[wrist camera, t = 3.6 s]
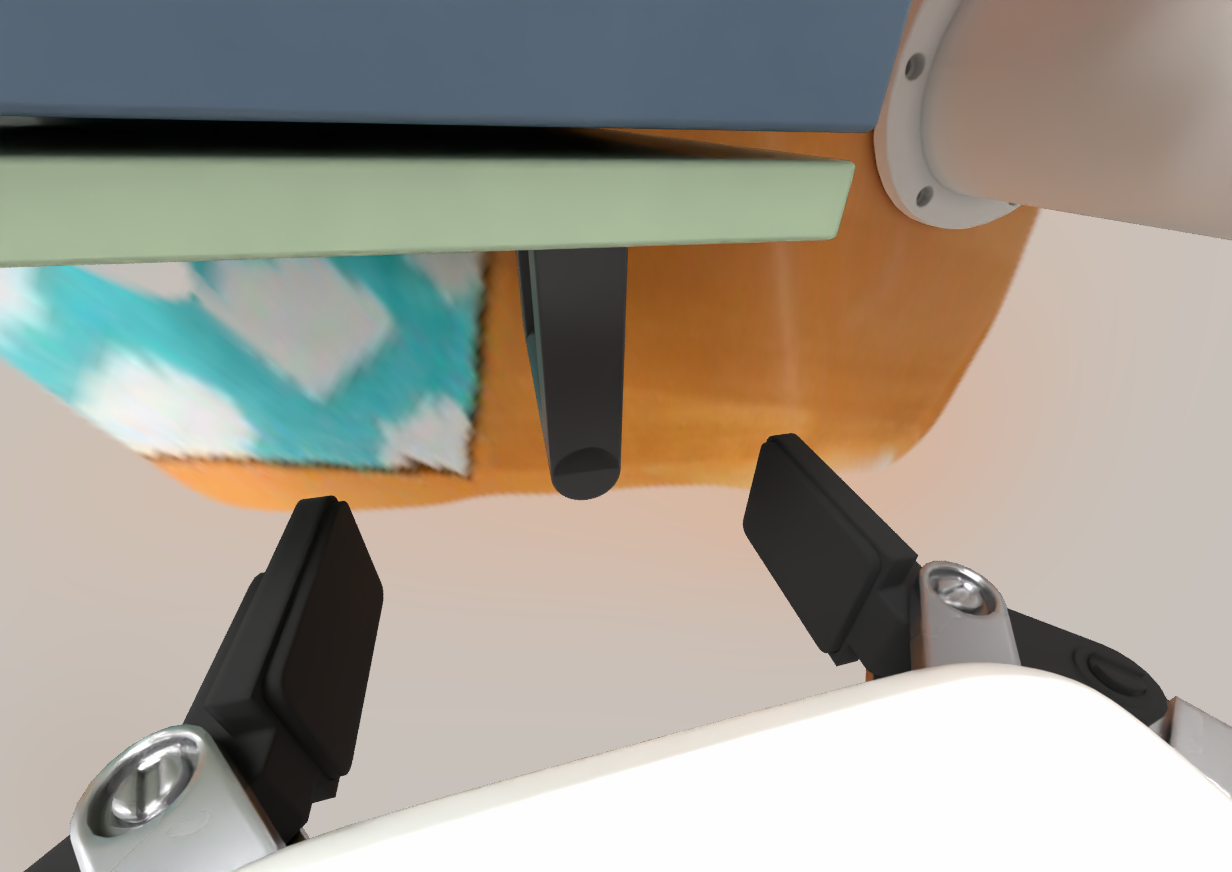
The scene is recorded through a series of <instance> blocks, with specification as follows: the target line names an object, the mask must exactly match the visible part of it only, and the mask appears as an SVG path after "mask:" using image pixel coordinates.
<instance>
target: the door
mask: <svg viewBox="0 0 1232 872" xmlns="http://www.w3.org/2000/svg"><path fill="white" fill-rule="evenodd" d="M854 171H855V164H854V163H852V162H851V161H849V160H841V159H833V158H826V157H818V156H810V155H803V154H795V153H787V152H779V151H772V150H764V149H756V148H748V147H741V146H733V145H725V144H717V143H710V142H702V141H694V140H687V139H679V138H671V137H663V136H656V135H648V134H640V133H632V132H625V131H617V130H609V129H601V128H584V127H533V126H482V125H431V124H380V123H330V122H279V121H228V120H177V119H126V118H76V117H25V116H0V268H5V267H35V266H65V265H95V264H124V263H153V262H154V263H155V262H185V261H215V260H245V259H275V258H305V257H335V256H365V255H396V254H426V253H456V252H486V251H516V256H517V266H518V277H519V287H520V297H521V307H522V317H523V327H524V334H525V339H526V344H527V350H528V355H529V361H530V366H531V372H532V377H533V383H534V388H535V393H536V399H537V404H538V410H539V415H540V421H541V426H542V431H543V437H544V442H545V448H546V453H547V459H548V464H549V470H550V475H551V480H552V484H553V486H554V487H555V489H556V490H557V491H558V492H559V493H560V494H562V495H563V496H565V497H567V498H570V499H574V500H588V499H592V498H596V497H598V496H601V495H603V494H604V493H606V492H607V491H609V490H610V489H611V488H612V487H613V486H614V485H615V483H616V482H617V480H618V478H619V475H620V470H621V440H622V410H623V380H624V351H625V321H626V291H627V261H628V247H636V246H666V245H696V244H726V243H756V242H786V241H816V240H830V239H833V238H835V237H836V235H837V233H838V230H839V226H840V222H841V219H842V215H843V211H844V208H845V204H846V201H847V197H848V193H849V190H850V186H851V182H852V179H853V175H854Z"/></svg>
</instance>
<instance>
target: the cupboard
mask: <svg viewBox="0 0 1232 872" xmlns="http://www.w3.org/2000/svg"><path fill="white" fill-rule="evenodd" d="M911 4H912V0H0V116H25V117H76V118H126V119H177V120H228V121H279V122H330V123H380V124H431V125H482V126H533V127H584V128H634V129H685V130H736V131H787V132H837V133H866V132H869V131H871V130H873V129H874V128H875V127H876V125H877V123H878V120H879V116H880V113H881V109H882V106H883V102H884V99H885V95H886V92H887V88H888V85H889V81H890V78H891V74H892V71H893V67H894V64H895V60H896V57H897V53H898V50H899V46H900V43H901V39H902V36H903V32H904V29H905V25H906V21H907V18H908V14H909V11H910V7H911Z"/></svg>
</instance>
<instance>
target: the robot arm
mask: <svg viewBox="0 0 1232 872" xmlns="http://www.w3.org/2000/svg"><path fill="white" fill-rule="evenodd" d="M874 148H875V156H876V163H877V169H878V172H879V175H880V178H881V181H882V184H883V186H884V189H885V191H886V193H887V194H888V196H889V197H890V199H891V200H892V202H893V203H894V205H895V206H896V207H897V208H898V209H899V210H901V211H902V212H903V213H904V214H905V215H907V216H908V217H909V218H911V219H913V220H916V221H918V222H921V223H923V224H926V225H930V226H935V227H940V228H944V229H967V228H970V227H974V226H978V225H982V224H986V223H989V222H991V221H993V220H995V219H997V218H1000V217H1002V216H1004V215H1006V214H1009V213H1010V212H1012V211H1013V210H1015V209H1016V208H1018V207H1019V206H1021V205H1027V206H1033V207H1039V208H1045V209H1051V210H1056V211H1063V212H1068V213H1074V214H1080V215H1086V216H1092V217H1098V218H1104V219H1110V220H1115V221H1121V222H1127V223H1133V224H1139V225H1145V226H1151V227H1157V228H1162V229H1168V230H1174V231H1181V232H1186V233H1192V234H1198V235H1204V236H1210V237H1216V238H1221V239H1227V240H1232V0H912V4H911V7H910V11H909V14H908V18H907V21H906V25H905V29H904V32H903V36H902V39H901V43H900V46H899V50H898V53H897V57H896V60H895V64H894V67H893V71H892V74H891V78H890V81H889V85H888V88H887V92H886V95H885V99H884V102H883V106H882V109H881V113H880V116H879V120H878V123H877V125H876V127H875V128H874ZM743 528H744V532H745V534H746V536H747V538H748V539H749V541H750V542H751V544H752V545H753V547H754V549H755V550H756V552H757V553H758V555H759V556H760V558H761V559H762V561H763V562H764V564H765V566H766V567H767V568H768V570H769V572H770V573H771V575H772V576H773V578H774V579H775V581H776V582H777V584H778V586H779V587H780V589H781V590H782V592H783V593H784V595H785V597H786V598H787V600H788V601H789V602H790V604H791V606H792V607H793V609H794V610H795V612H796V613H797V615H798V617H799V618H800V620H801V621H802V623H803V624H804V626H805V627H806V629H807V631H808V632H809V634H810V635H811V637H812V638H813V640H814V642H815V643H816V644H817V646H818V647H819V649H820V650H821V651H822V652H824V653H828V654H829V655H830V657H831V658H832V660H833V661H834V663H835V664H836V666H839V665H843V664H847V663H851V662H855V661H858V659H860V661H861V662H862V664H863V665H864V666H865V668H866V682H864V683H860V684H856V685H852V686H848V687H844V688H841V689H837V690H833V691H829V692H826V693H822V694H818V695H814V696H810V697H807V698H803V699H800V700H796V701H792V702H788V703H784V704H781V705H777V706H773V707H769V708H766V709H762V710H758V711H754V712H751V713H747V714H744V715H739V716H736V717H732V718H728V719H725V720H721V721H718V722H714V723H710V724H706V725H703V726H699V727H695V728H692V729H688V730H684V731H681V732H677V733H673V734H670V735H666V736H663V737H659V738H655V739H651V740H648V741H644V742H640V743H637V744H633V745H629V746H626V747H622V748H619V749H615V750H611V751H607V752H604V753H601V754H597V755H593V756H590V757H586V758H582V759H579V760H575V761H571V762H568V763H565V764H561V765H557V766H553V767H550V768H547V769H543V770H539V771H535V772H532V773H528V774H525V775H521V776H518V777H514V778H510V779H507V780H503V781H499V782H496V783H492V784H489V785H485V786H482V787H478V788H474V789H471V790H467V791H463V792H460V793H456V794H453V795H449V796H446V797H442V798H439V799H436V800H432V801H429V802H425V803H422V804H419V805H416V806H412V807H409V808H405V809H402V810H398V811H395V812H392V813H388V814H385V815H382V816H378V817H375V818H372V819H368V820H365V821H362V822H358V823H355V824H351V825H348V826H345V827H342V828H339V829H336V830H333V831H330V832H327V833H324V834H322V835H319V836H316V837H313V838H309V836H308V835H307V833H306V832H305V830H304V829H303V826H304V825H305V823H307V821H308V818H309V814H310V810H311V805H312V803H315V802H319V801H322V800H326V799H330V798H334V797H336V792H337V787H338V782H339V778H340V776H344V775H346V774H348V772H349V770H350V768H351V764H352V760H353V755H354V750H355V745H356V739H357V734H358V729H359V724H360V719H361V713H362V708H363V703H364V697H365V692H366V687H367V682H368V677H369V671H370V667H371V662H372V656H373V651H374V646H375V641H376V636H377V630H378V625H379V620H380V615H381V610H382V604H383V587H382V584H381V581H380V579H379V577H378V574H377V572H376V570H375V567H374V565H373V563H372V560H371V558H370V555H369V553H368V550H367V548H366V546H365V543H364V541H363V539H362V536H361V534H360V531H359V529H358V527H357V524H356V522H355V519H354V517H353V515H352V512H351V510H350V507H349V505H348V503H347V502H346V501H340V502H338V500H337V498H336V497H335V496H324V497H317V498H309V499H302V500H300V501H299V502H298V503H297V505H296V507H295V509H294V511H293V513H292V515H291V518H290V520H289V522H288V524H287V526H286V529H285V531H284V533H283V535H282V537H281V539H280V541H279V544H278V546H277V548H276V550H275V552H274V554H273V556H272V559H271V561H270V563H269V565H268V567H267V569H266V571H265V572H264V573H260V574H259V575H257V576H256V577H255V578H254V580H253V581H252V583H251V584H250V586H249V588H248V590H247V592H246V595H245V596H244V598H243V601H242V603H241V605H240V607H239V609H238V611H237V613H236V615H235V617H234V619H233V621H232V624H231V626H230V628H229V630H228V632H227V634H226V636H225V638H224V640H223V642H222V644H221V646H220V648H219V650H218V652H217V654H216V657H215V659H214V661H213V663H212V665H211V667H210V669H209V671H208V673H207V675H206V677H205V679H204V681H203V683H202V685H201V687H200V689H199V691H198V694H197V696H196V698H195V700H194V702H193V704H192V706H191V708H190V710H189V712H188V714H187V716H186V718H185V720H184V723H183V725H177V726H171V727H168V728H165V729H162V730H160V731H157V732H155V733H152V734H150V735H148V736H146V737H145V738H143V739H141V740H139V741H138V742H136V743H134V744H133V745H131V746H129V747H128V748H127V749H126V750H124V751H123V752H122V753H121V754H119V755H118V756H117V757H116V758H115V759H113V760H112V761H111V762H109V763H108V764H107V766H106V767H105V768H104V769H103V770H102V771H101V772H100V773H99V774H98V775H97V776H96V777H95V778H94V779H93V781H92V782H91V783H90V784H89V786H88V787H87V789H86V791H85V792H84V793H83V795H82V797H81V798H80V800H79V801H78V803H77V805H76V808H75V811H74V813H73V816H72V819H71V822H70V835H69V836H68V837H66V838H65V839H64V840H63V841H61V842H60V843H59V844H58V845H57V846H55V847H54V848H53V849H52V850H50V851H49V852H48V853H46V854H45V855H44V856H43V857H42V858H40V859H39V860H38V861H37V862H35V863H34V864H33V865H31V866H30V867H29V868H28V869H27V870H25V871H24V872H1232V727H1231V726H1229V725H1227V724H1226V723H1223V722H1222V721H1220V720H1218V719H1216V718H1214V717H1213V716H1211V715H1209V714H1208V713H1206V712H1204V711H1202V710H1200V709H1199V708H1197V707H1195V706H1193V705H1191V704H1190V703H1188V702H1186V701H1184V700H1182V699H1181V698H1179V697H1177V696H1175V697H1174V698H1172V699H1171V700H1170V701H1169V700H1167V699H1166V697H1165V695H1164V693H1163V691H1162V690H1161V688H1160V686H1159V685H1158V684H1157V683H1156V682H1155V681H1154V680H1153V679H1152V677H1151V676H1150V675H1149V674H1148V673H1147V672H1146V671H1145V670H1143V669H1142V668H1141V667H1140V666H1138V665H1137V664H1136V663H1135V662H1133V661H1132V660H1130V659H1129V658H1127V657H1125V656H1124V655H1122V654H1121V653H1119V652H1117V651H1115V650H1113V649H1111V648H1109V647H1106V646H1105V645H1103V644H1100V643H1097V642H1094V641H1092V640H1089V639H1087V638H1084V637H1082V636H1079V635H1076V634H1074V633H1071V632H1068V631H1066V630H1063V629H1060V628H1058V627H1055V626H1052V625H1050V624H1047V623H1045V622H1042V621H1039V620H1037V619H1034V618H1032V617H1029V616H1026V615H1023V614H1021V613H1018V612H1016V611H1013V610H1010V609H1008V608H1007V606H1006V603H1005V601H1004V599H1003V597H1002V595H1001V593H1000V592H999V591H998V590H997V589H996V588H995V586H994V585H993V584H992V583H991V582H989V581H988V580H987V579H986V578H984V577H983V576H982V575H980V574H978V573H977V572H975V571H973V570H971V569H970V568H967V567H964V566H962V565H960V564H957V563H952V562H947V561H932V562H929V563H926V564H925V565H924V566H923V567H921V566H920V565H919V564H918V563H917V562H916V561H915V560H916V559H917V557H918V555H917V554H916V553H915V552H914V551H913V550H912V549H911V548H910V547H909V546H908V545H907V544H906V543H905V542H904V541H903V540H902V539H901V538H900V537H899V536H898V535H897V534H896V533H895V532H894V531H893V530H892V529H891V528H890V527H889V526H888V525H887V524H886V523H885V522H884V521H883V520H882V519H881V518H880V517H879V516H878V515H877V514H876V513H875V512H874V511H873V510H872V509H871V508H870V507H869V506H868V505H867V504H866V503H865V502H864V501H863V500H862V499H861V498H860V497H859V496H858V495H857V494H856V493H855V492H854V491H853V490H852V489H851V488H850V487H849V486H848V485H847V484H846V483H845V482H844V481H843V480H842V479H841V478H840V477H839V476H838V475H837V474H836V473H835V472H834V471H833V470H832V469H831V468H830V467H829V466H828V465H827V464H826V463H825V462H824V461H823V460H822V459H821V458H820V457H819V456H818V455H817V454H816V453H815V452H814V451H813V450H811V449H810V448H809V447H808V446H807V445H806V444H805V443H804V442H803V441H802V440H801V439H800V438H799V437H798V436H797V435H796V434H793V433H789V434H782V435H774V436H770V437H769V438H768V439H767V442H766V443H763V444H762V446H761V449H760V453H759V457H758V461H757V465H756V470H755V474H754V478H753V482H752V486H751V490H750V494H749V498H748V502H747V507H746V511H745V515H744V519H743Z"/></svg>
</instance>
